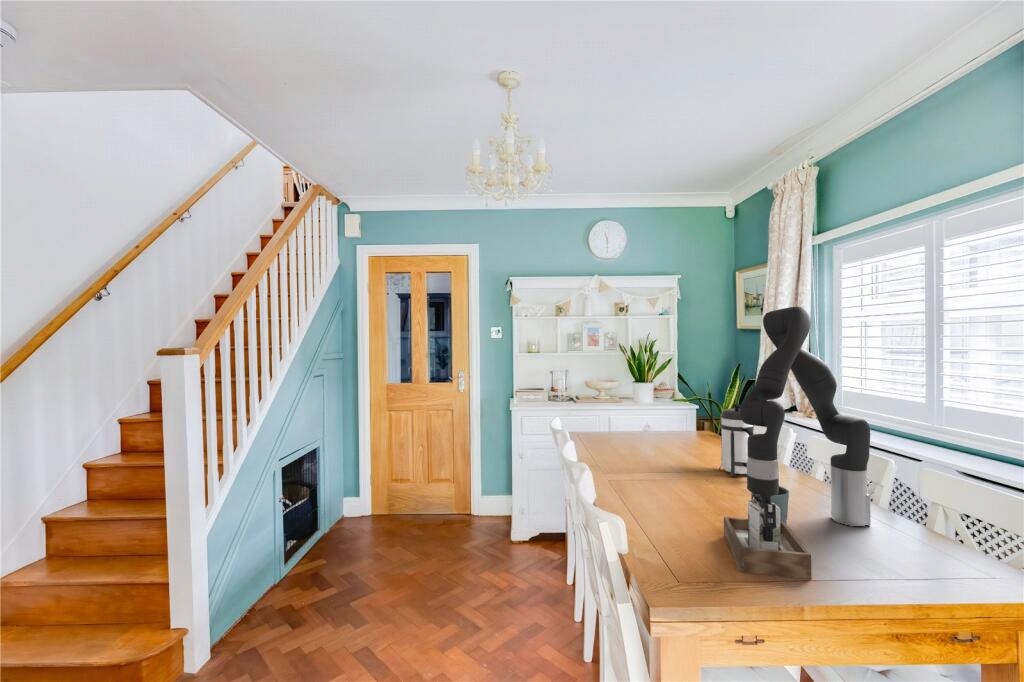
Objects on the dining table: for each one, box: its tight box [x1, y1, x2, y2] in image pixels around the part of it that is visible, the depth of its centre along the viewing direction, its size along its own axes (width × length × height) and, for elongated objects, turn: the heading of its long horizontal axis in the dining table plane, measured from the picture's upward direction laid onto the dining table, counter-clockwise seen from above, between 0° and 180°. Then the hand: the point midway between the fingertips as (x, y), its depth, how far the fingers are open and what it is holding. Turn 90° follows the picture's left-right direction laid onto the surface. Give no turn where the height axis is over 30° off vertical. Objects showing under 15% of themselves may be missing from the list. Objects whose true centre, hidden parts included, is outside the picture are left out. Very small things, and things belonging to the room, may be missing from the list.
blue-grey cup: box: [771, 485, 790, 525], centre depth 139 cm, size 10×10×12 cm
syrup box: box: [747, 500, 780, 550], centre depth 121 cm, size 6×6×14 cm
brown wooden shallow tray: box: [723, 516, 813, 580], centre depth 121 cm, size 16×20×6 cm
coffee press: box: [718, 402, 755, 479], centre depth 190 cm, size 17×16×30 cm
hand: (763, 533), depth 121 cm, fingers open, 8 cm apart
